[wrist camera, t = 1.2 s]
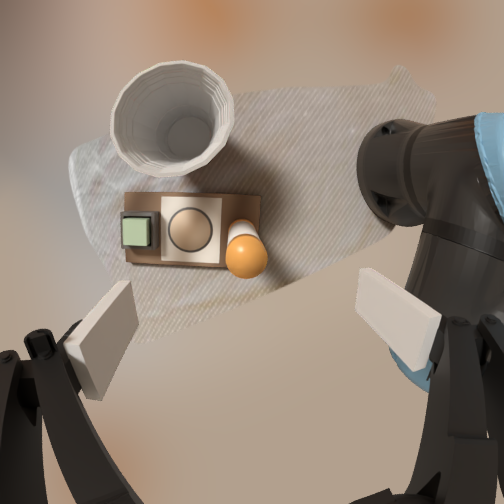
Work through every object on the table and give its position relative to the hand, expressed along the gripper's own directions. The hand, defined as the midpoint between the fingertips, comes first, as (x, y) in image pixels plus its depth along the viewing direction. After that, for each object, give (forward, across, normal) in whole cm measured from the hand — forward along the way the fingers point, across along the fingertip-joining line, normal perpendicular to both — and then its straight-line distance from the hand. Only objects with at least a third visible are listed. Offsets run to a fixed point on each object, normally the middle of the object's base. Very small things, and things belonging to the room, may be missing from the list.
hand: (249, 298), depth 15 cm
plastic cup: (+21, +5, -12) cm, 24 cm away
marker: (+19, -1, 0) cm, 19 cm away
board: (+20, +6, -1) cm, 21 cm away
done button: (+19, +12, -1) cm, 22 cm away
